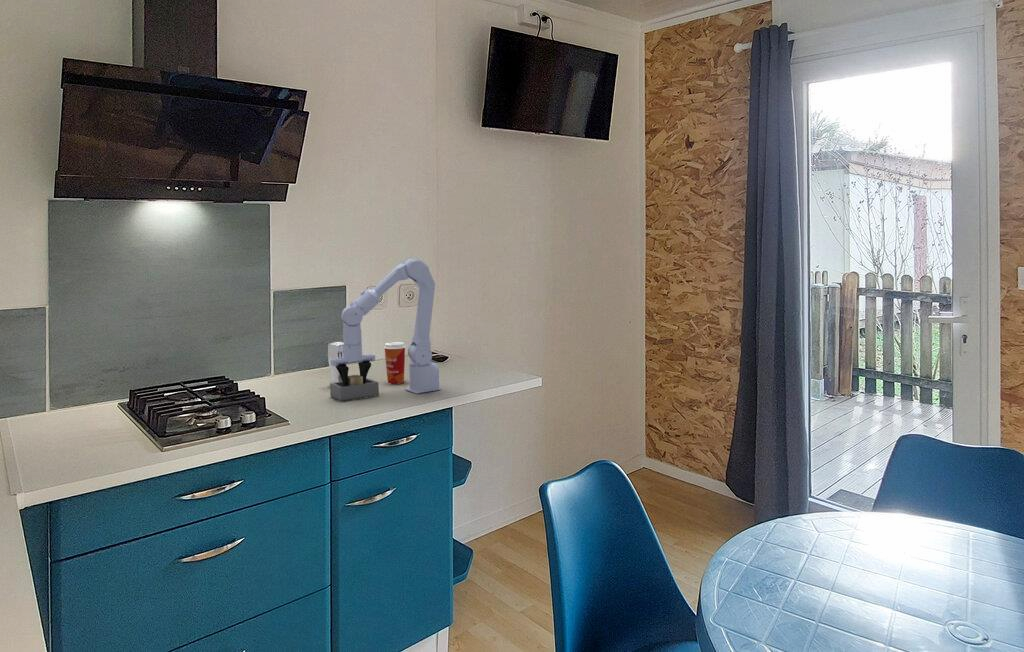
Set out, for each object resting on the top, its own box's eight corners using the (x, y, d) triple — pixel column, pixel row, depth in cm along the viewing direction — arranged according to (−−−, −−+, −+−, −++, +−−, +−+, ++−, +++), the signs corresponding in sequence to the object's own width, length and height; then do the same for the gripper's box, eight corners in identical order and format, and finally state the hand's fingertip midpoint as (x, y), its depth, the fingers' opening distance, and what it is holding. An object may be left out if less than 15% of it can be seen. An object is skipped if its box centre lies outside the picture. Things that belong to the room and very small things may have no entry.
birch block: (358, 392, 225) (357, 374, 224) (363, 394, 222) (362, 376, 221) (346, 394, 223) (345, 376, 222) (351, 396, 219) (351, 378, 219)
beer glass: (325, 387, 235) (323, 344, 233) (337, 383, 242) (335, 341, 240) (341, 389, 233) (340, 345, 231) (354, 384, 239) (352, 342, 237)
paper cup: (380, 382, 242) (379, 343, 241) (399, 379, 248) (397, 340, 246) (392, 386, 237) (391, 346, 235) (411, 382, 242) (410, 343, 240)
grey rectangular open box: (367, 390, 230) (367, 377, 229) (378, 395, 223) (378, 382, 222) (330, 396, 222) (329, 383, 221) (341, 401, 215) (340, 387, 215)
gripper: (368, 340, 228) (369, 380, 229) (326, 344, 219) (328, 386, 221) (377, 342, 222) (379, 383, 224) (334, 347, 213) (336, 390, 215)
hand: (354, 385), depth 222 cm, fingers open, 5 cm apart
